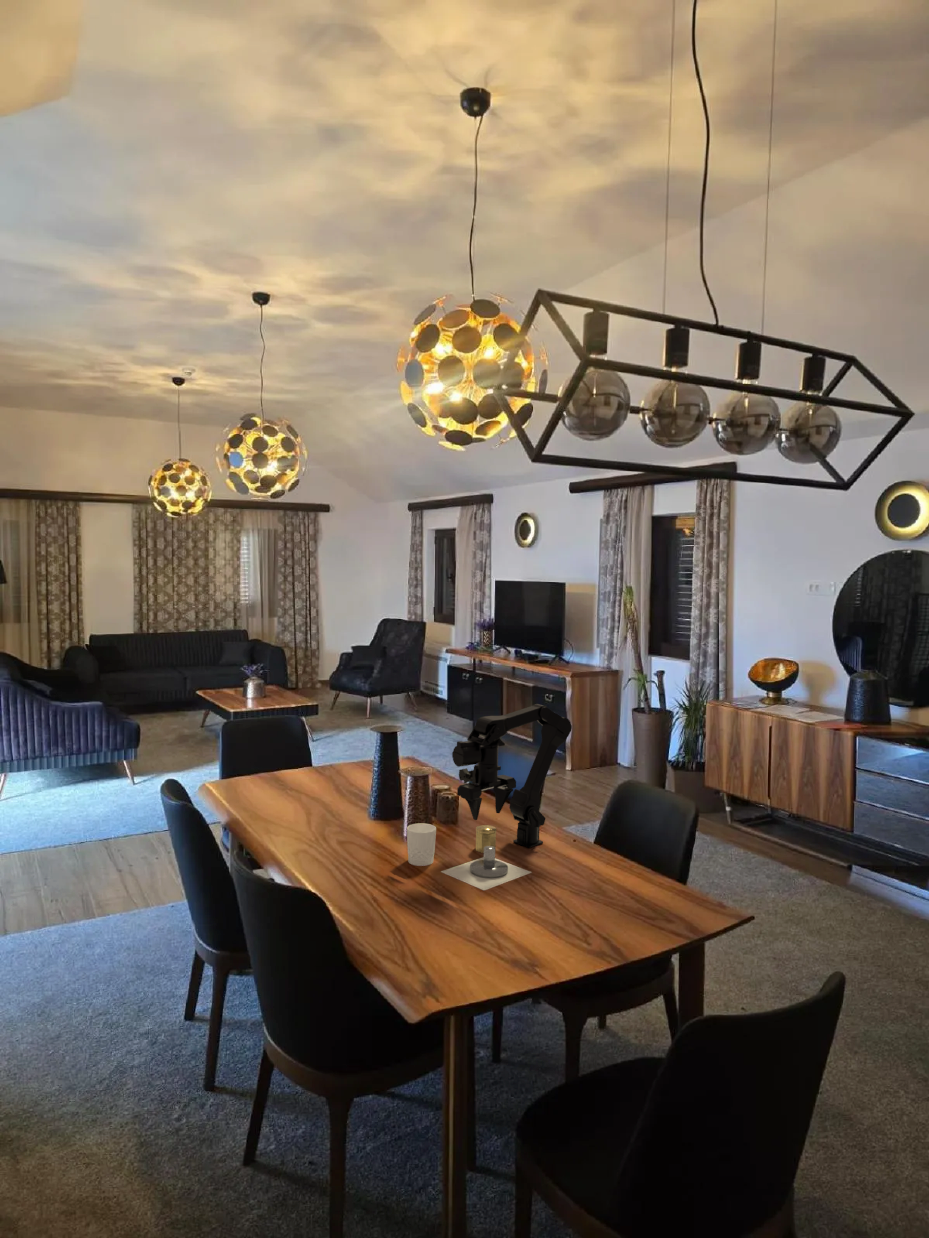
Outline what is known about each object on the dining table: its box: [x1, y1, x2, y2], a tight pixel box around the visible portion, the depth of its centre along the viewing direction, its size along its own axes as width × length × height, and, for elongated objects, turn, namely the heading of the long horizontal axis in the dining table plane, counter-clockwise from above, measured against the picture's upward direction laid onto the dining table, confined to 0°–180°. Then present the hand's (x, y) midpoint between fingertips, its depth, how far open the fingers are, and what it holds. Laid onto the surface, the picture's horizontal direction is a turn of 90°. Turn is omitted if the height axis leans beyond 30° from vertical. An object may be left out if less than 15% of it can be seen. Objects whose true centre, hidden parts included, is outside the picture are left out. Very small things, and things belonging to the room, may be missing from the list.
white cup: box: [406, 822, 437, 867], centre depth 212 cm, size 8×8×10 cm
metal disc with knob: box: [470, 846, 508, 878], centre depth 206 cm, size 10×10×6 cm
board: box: [440, 856, 532, 891], centre depth 206 cm, size 18×16×1 cm
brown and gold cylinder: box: [475, 824, 497, 854], centre depth 223 cm, size 6×6×7 cm
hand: (486, 816), depth 222 cm, fingers open, 9 cm apart
